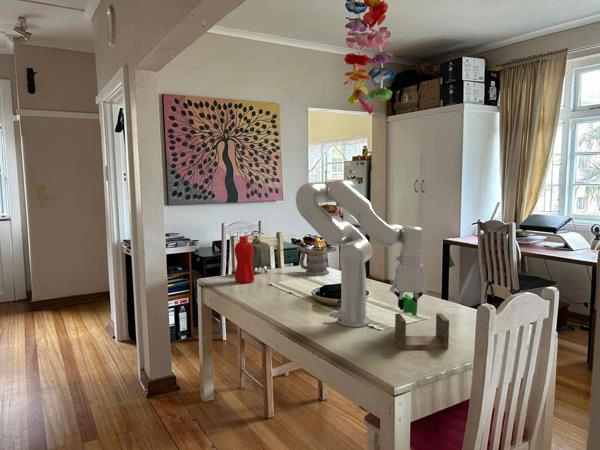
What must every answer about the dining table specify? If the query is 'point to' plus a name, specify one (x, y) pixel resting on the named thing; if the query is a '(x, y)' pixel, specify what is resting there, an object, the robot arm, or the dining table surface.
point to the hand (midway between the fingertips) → (407, 308)
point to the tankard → (314, 261)
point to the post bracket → (422, 341)
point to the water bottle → (244, 261)
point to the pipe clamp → (409, 305)
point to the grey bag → (260, 253)
